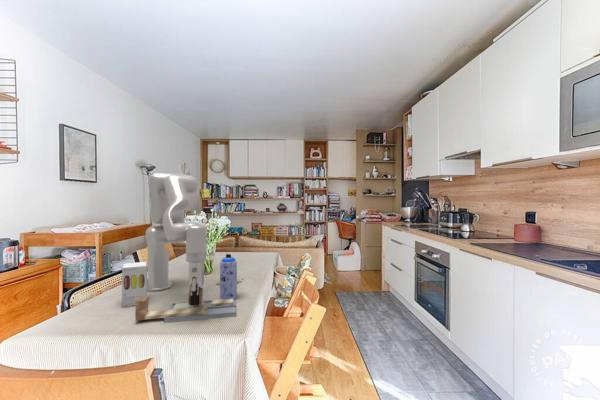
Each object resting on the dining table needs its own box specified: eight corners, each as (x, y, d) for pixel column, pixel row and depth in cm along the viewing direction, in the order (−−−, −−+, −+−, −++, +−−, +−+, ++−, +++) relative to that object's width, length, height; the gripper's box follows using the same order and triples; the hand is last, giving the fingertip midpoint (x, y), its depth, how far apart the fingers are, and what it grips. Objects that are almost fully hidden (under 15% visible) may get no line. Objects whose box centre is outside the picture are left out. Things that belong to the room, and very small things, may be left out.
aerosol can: (216, 297, 134) (216, 254, 134) (231, 293, 139) (231, 251, 139) (225, 301, 128) (225, 256, 128) (240, 297, 134) (240, 254, 134)
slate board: (164, 322, 107) (163, 318, 107) (172, 306, 123) (172, 303, 123) (235, 316, 113) (235, 312, 113) (235, 301, 129) (235, 298, 129)
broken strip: (192, 308, 119) (192, 305, 119) (193, 304, 123) (193, 301, 123) (233, 305, 122) (233, 302, 122) (233, 301, 127) (233, 298, 127)
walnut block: (188, 304, 111) (188, 292, 111) (190, 300, 116) (190, 288, 116) (201, 304, 112) (201, 291, 112) (202, 299, 117) (202, 287, 117)
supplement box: (121, 307, 121) (121, 267, 121) (123, 300, 129) (122, 263, 129) (147, 303, 126) (147, 265, 125) (147, 297, 134) (147, 260, 134)
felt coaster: (173, 310, 116) (173, 309, 116) (175, 305, 122) (175, 303, 122) (188, 309, 118) (188, 307, 118) (190, 303, 123) (190, 302, 123)
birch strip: (135, 320, 106) (135, 301, 106) (139, 315, 111) (139, 296, 111) (206, 314, 112) (206, 296, 112) (207, 309, 117) (207, 292, 117)
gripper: (204, 261, 106) (203, 310, 107) (207, 251, 123) (207, 293, 123) (182, 262, 104) (181, 312, 105) (189, 251, 121) (188, 295, 122)
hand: (195, 301), depth 114 cm, fingers closed on walnut block, 4 cm apart
